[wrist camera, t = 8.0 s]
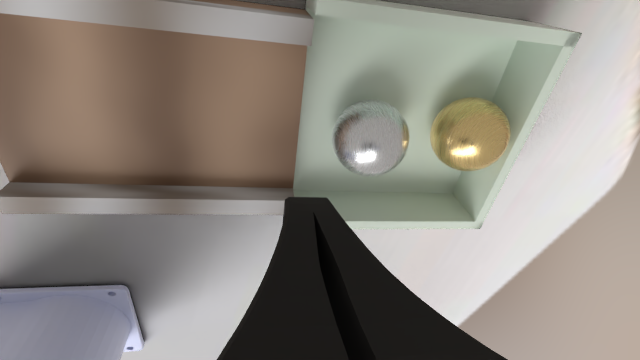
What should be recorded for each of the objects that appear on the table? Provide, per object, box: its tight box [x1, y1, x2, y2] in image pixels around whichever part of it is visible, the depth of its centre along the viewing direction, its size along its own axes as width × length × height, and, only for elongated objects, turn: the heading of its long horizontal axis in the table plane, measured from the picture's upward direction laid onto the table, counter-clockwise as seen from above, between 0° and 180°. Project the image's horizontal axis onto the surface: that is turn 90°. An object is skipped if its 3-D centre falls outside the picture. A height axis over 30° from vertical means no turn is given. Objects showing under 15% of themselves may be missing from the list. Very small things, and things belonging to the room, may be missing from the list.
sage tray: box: [293, 0, 582, 229], centre depth 18 cm, size 12×12×4 cm
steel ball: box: [332, 100, 410, 177], centre depth 17 cm, size 4×4×4 cm
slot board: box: [0, 0, 314, 215], centre depth 16 cm, size 14×10×3 cm
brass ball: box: [430, 97, 511, 171], centre depth 18 cm, size 4×4×4 cm
